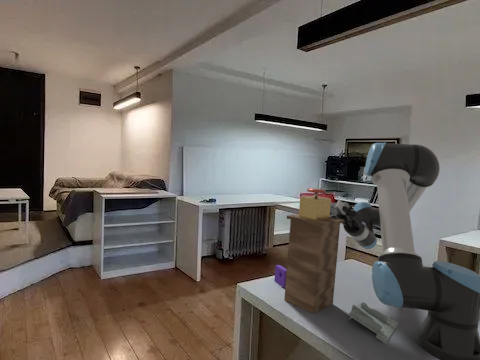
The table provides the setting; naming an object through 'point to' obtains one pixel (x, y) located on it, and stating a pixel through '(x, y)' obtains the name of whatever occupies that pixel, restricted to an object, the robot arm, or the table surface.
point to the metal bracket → (374, 321)
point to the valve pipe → (318, 206)
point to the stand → (312, 262)
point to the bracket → (280, 275)
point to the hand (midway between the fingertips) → (331, 202)
